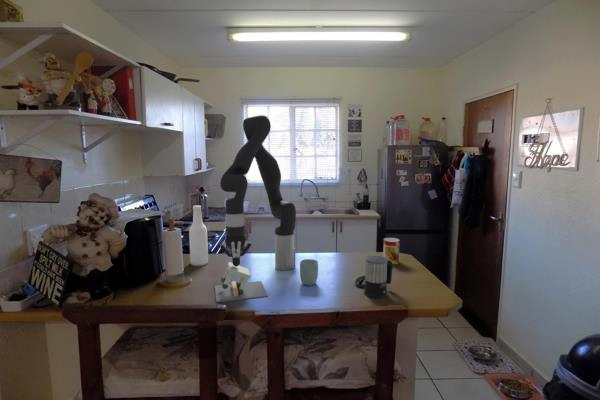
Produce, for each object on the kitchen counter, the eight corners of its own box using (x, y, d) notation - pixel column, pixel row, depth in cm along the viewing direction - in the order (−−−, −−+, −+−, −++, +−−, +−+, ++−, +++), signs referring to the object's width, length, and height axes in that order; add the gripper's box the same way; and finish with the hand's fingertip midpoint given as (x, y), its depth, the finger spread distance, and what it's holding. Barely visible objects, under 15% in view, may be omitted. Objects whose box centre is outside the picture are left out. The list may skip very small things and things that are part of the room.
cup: (319, 281, 154) (320, 260, 153) (314, 288, 147) (315, 265, 145) (303, 279, 157) (303, 258, 155) (297, 286, 149) (297, 263, 148)
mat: (261, 282, 154) (261, 276, 153) (267, 296, 139) (267, 290, 138) (214, 286, 148) (214, 280, 148) (216, 302, 133) (216, 295, 133)
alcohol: (195, 260, 184) (192, 204, 180) (210, 261, 183) (208, 204, 178) (187, 265, 175) (184, 207, 171) (204, 266, 174) (201, 207, 170)
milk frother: (382, 300, 135) (383, 264, 133) (345, 291, 144) (346, 257, 141) (394, 288, 147) (395, 254, 145) (359, 281, 155) (360, 248, 153)
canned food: (400, 264, 178) (401, 241, 176) (384, 264, 178) (385, 241, 176) (396, 259, 185) (397, 237, 184) (381, 259, 186) (382, 237, 184)
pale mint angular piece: (248, 268, 148) (228, 261, 145) (251, 275, 139) (230, 268, 136) (239, 287, 148) (219, 280, 145) (242, 295, 139) (221, 288, 136)
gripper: (250, 221, 144) (251, 261, 147) (217, 223, 141) (219, 264, 143) (253, 225, 137) (253, 267, 140) (218, 227, 134) (220, 270, 136)
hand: (236, 265), depth 141 cm, fingers closed
